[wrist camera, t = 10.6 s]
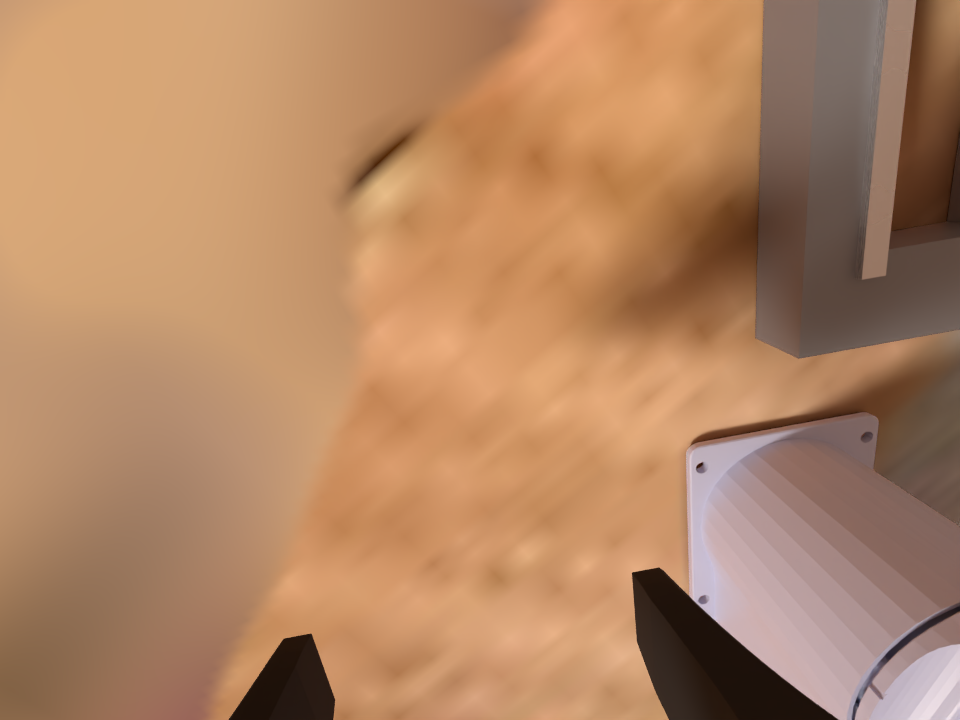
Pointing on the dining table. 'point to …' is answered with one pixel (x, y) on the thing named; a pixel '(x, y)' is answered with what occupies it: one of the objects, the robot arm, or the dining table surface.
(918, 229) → the grey rectangular frame
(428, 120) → the dining table surface
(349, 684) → the dining table surface
